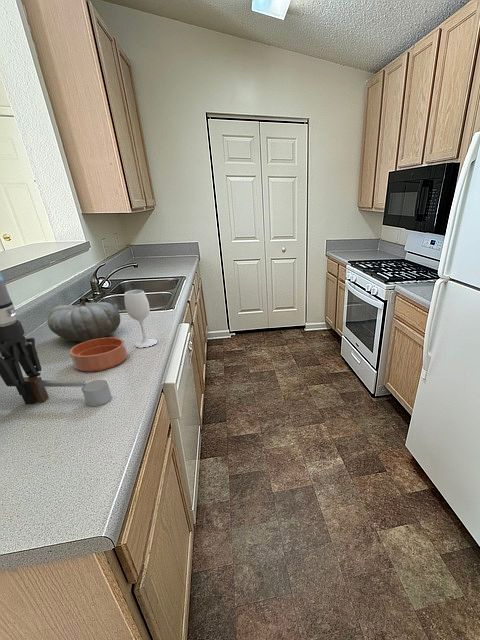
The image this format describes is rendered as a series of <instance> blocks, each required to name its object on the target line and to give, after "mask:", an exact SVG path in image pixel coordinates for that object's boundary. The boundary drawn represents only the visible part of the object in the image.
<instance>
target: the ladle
mask: <svg viewBox="0 0 480 640" xmlns="http://www.w3.org/2000/svg"><path fill="white" fill-rule="evenodd" d="M23 378H24V381H25V383H28V384H29V386H30V388H31V390H32V393H33V395H34V397H35V400H36V403H35V404H37V403H45V402H46V401H48V400H49V399H50V397H49V394H48V392H47V389H46V388H78V387H79V388H81V392H82V395H83V397H84V400H85V403H86V405H87V406H88V407H100V406H103V405H105V404H107V403H109V402H110V401H111V400H112V398H113V396H112V393H111V390H110V387H109V383H108V381H107V380H105V379H96V380H91V381H89V382H86V380H85V379H81V380H80V379H79V380H76V379H75V380H74V379H71V380H63V379H62V380H61V379H59V380H54V379H53V380H51V379H49V380H48V379H47V380H45V379H43V380H42V377H41V376H37V377H29V376H26V377H25V376H23Z"/></svg>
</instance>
